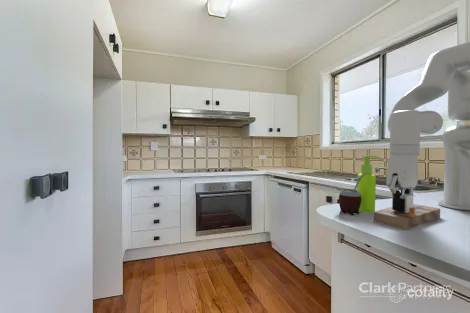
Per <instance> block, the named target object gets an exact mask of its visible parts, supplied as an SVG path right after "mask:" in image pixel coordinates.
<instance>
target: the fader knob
mask: <svg viewBox="0 0 470 313" xmlns="http://www.w3.org/2000/svg"><path fill="white" fill-rule="evenodd" d="M391 197H392V196H391ZM391 199H392V200H391V203H392V204H391V205H392V206H391V207H393V197H392V198H391ZM403 199H405V211H404V212H405V213H408V212H409V208H413V204H414V194H413V195H410V194H404V198H403ZM392 210H393V209H392ZM395 211H396V210H395Z"/></svg>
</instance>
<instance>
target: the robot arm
mask: <svg viewBox="0 0 470 313" xmlns="http://www.w3.org/2000/svg"><path fill="white" fill-rule="evenodd" d="M469 70H470V41H467V42H464V43H460V44H456V45H454V46H449V47H447V48H444V49H440V50H438V51H436V52H434V53H432V54H431V55H430V56H429V58H428V59H427V61H426V64H425V67H424V69H423V71H422V73H421V76H420V79H419V81H418V83H417V85H415V86H414V87H413V88H412V89H411V90H409V91H408V92H406V94H405V95H403V96H402V97H401V98H400V99H399V100H398V101H397V102H396V103H395V104H394V106H393V108H392V110H391V112H390V115H389V116H388V117H389V118H388V121H387V129H388V131H389V157H388V162H387V169H386V180H385V181H386V182H385V185H386V186H387V187H389V188H388V189H389V191H390V192H391V193H392V194H391V197H393V207H392V206H391V207H392V209H393V210H396V211H400V212H404V211H405V199H403V198H404V194H410V195H413V196H414V190H415V188H416V187H417V186H418V182H419V164H418V163H419V162H418V157H420V144H421V136H428V135H429V136H430V135H433V134H436V133H438V132H439V131H440V130H441V129H442V127H443V125H444V120H443V116H442V115H441V114H440V113H439V112H437V111H435V110H423V111H420V110H419V111H418V110H416V109H418V108H420V107H421V106H424V105H427V104H428V103H431V102H433V101H435V100H437V99H439V98H441V97H444V95H446V94H447V114H448V118H449V120H450V121H452V122H470V71H469ZM442 143H443V149H444V150H443V151H444V176H443V177H444V179H443V180H444V181H443V199H442V200H438V202H437V203H438V205H439V206H441V207H445V208H447V209H453V210H462V211H470V124H459V125H453V126H450V127H448V128H446V129H444V131H443V133H442Z"/></svg>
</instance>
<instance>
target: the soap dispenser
mask: <svg viewBox="0 0 470 313" xmlns="http://www.w3.org/2000/svg"><path fill="white" fill-rule="evenodd" d="M361 158H363V159H364V160H363V162H364V163H362V164H361V168H360V169H361V172H360V173H357V180H356V182H357V181H358V178H359V177H360V176H361V175H363V174H364V173H366V172H368V173H367V174H365V175H364V176H363V177H362V178H361V180H360V181H359V183H358V186H357V188H356V190H357V191H359V193H360V194H361V204H360V208H359V212H362V213H374V212H375V211H376V190H377V188H376V186H377V185H376V182H377V180H376V179H377V175H376V174H374V173H373V165H372V163H371V164H370V158H372V159H373V158H374V159H380V156H376V155H362V156H361Z"/></svg>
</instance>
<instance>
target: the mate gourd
mask: <svg viewBox="0 0 470 313" xmlns="http://www.w3.org/2000/svg"><path fill="white" fill-rule="evenodd" d="M367 173H368V172H366V173H364V174H363V175H361V176H360V177H359V178H358V181H357V180H356V184H355V185H354V189H351V188H349V189H347V188H345V189H342V190H341V191H340V192H339V194H338V203H339V209H340V210H339V214H349V215H350V216H355V215H359V214H360V211H359V208H360V204H361V194H360V193H359V191H357V186H358V183H359V181H360V180H361V178H362V177H363V176H364V175H365V174H367ZM354 214H355V215H354Z"/></svg>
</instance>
